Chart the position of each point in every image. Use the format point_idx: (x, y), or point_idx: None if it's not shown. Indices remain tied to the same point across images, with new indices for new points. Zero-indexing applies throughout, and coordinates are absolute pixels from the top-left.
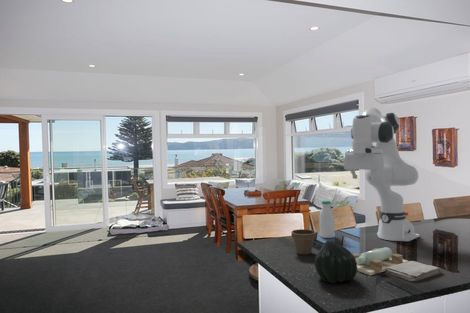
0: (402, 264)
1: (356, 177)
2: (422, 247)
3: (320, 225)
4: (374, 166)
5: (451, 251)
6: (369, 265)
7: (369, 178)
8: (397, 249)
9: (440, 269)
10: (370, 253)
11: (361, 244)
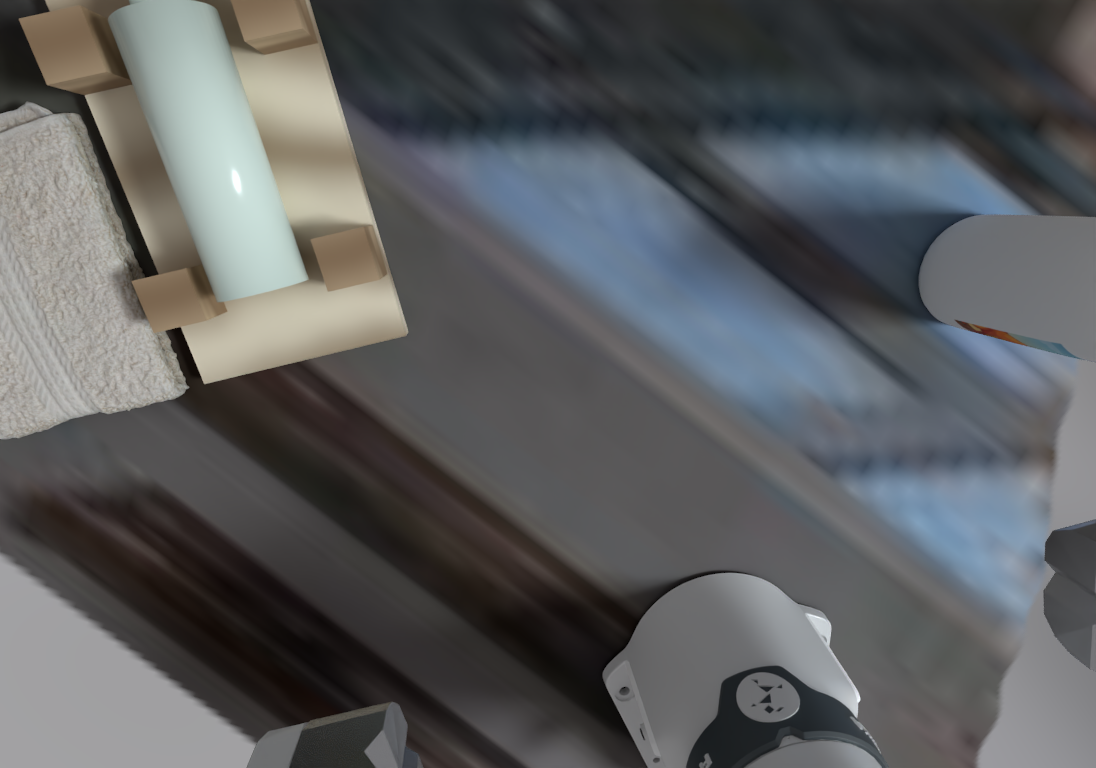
0: (83, 259)
1: (1086, 618)
2: (472, 664)
3: (1068, 216)
4: None
5: None
6: None
7: (358, 735)
8: (492, 513)
9: (2, 437)
10: (134, 53)
11: (682, 378)
